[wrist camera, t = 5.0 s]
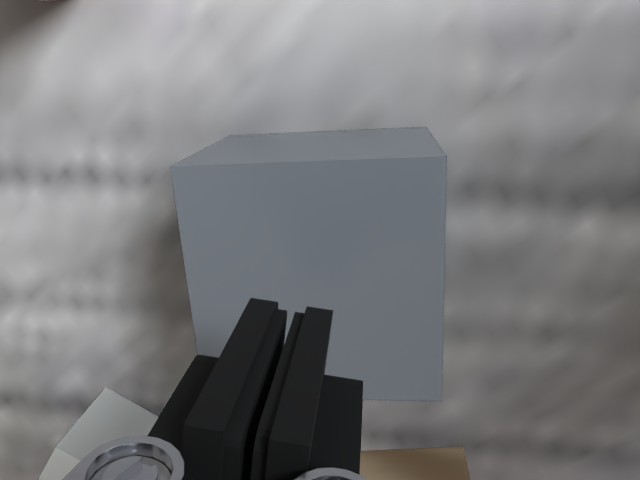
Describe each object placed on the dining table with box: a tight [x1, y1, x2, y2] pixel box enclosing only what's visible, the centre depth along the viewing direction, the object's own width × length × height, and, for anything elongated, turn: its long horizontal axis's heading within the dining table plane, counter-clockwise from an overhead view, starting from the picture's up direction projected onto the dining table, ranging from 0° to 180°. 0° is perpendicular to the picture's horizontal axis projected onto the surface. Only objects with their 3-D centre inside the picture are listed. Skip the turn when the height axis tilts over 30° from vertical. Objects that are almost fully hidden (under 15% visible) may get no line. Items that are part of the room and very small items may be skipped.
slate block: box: [170, 127, 447, 401], centre depth 17 cm, size 7×7×6 cm
